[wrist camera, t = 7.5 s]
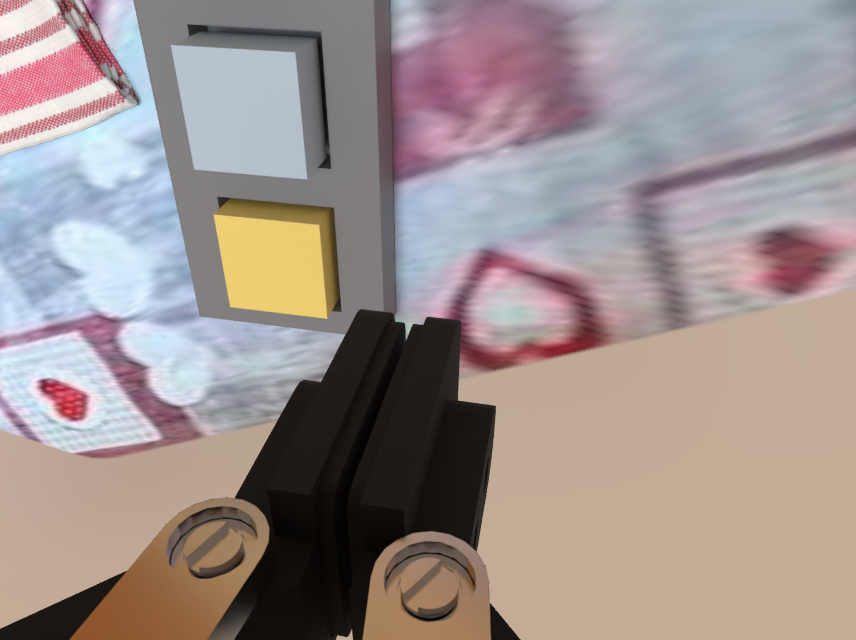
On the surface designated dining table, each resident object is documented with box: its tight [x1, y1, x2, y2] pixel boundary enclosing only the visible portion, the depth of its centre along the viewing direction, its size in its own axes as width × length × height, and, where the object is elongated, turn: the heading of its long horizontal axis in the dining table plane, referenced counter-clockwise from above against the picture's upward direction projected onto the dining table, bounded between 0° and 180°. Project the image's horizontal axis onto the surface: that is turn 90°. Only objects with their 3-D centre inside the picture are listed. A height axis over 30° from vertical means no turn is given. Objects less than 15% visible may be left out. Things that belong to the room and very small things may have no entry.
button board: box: [133, 0, 396, 334], centre depth 36 cm, size 12×28×3 cm, turn 179°
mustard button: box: [214, 198, 340, 319], centre depth 40 cm, size 6×6×3 cm
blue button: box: [171, 31, 326, 179], centre depth 34 cm, size 6×6×3 cm
